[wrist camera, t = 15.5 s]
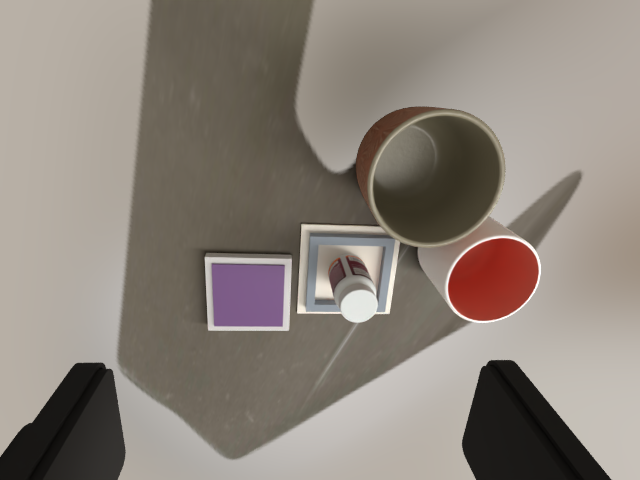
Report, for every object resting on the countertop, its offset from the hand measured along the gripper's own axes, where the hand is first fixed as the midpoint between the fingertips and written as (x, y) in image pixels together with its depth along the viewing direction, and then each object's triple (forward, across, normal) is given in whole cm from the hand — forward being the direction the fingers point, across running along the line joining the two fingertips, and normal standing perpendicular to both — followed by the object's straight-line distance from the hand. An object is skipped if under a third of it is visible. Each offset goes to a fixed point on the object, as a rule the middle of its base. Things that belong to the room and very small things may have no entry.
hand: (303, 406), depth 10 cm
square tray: (+36, -8, +14) cm, 40 cm away
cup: (+36, -21, +10) cm, 43 cm away
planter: (+36, -13, 0) cm, 39 cm away
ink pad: (+36, +4, +17) cm, 40 cm away
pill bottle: (+36, -8, +14) cm, 40 cm away
